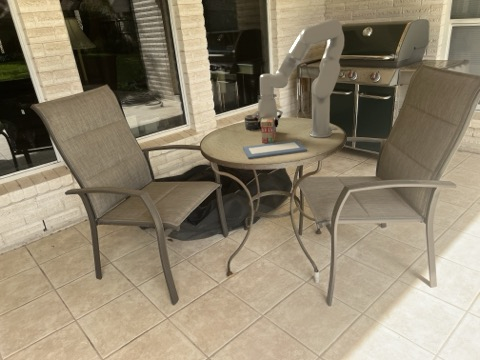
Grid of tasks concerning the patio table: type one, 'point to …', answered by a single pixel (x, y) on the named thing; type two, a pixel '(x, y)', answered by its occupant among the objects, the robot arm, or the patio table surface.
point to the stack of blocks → (268, 130)
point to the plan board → (273, 149)
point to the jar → (251, 122)
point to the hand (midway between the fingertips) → (267, 127)
